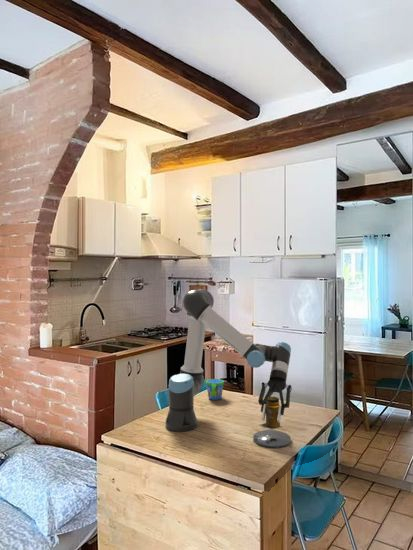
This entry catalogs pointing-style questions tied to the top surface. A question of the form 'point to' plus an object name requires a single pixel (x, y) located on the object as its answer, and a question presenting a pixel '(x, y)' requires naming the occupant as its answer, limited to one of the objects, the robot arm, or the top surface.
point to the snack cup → (214, 388)
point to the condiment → (272, 414)
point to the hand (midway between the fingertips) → (270, 420)
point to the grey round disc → (271, 439)
